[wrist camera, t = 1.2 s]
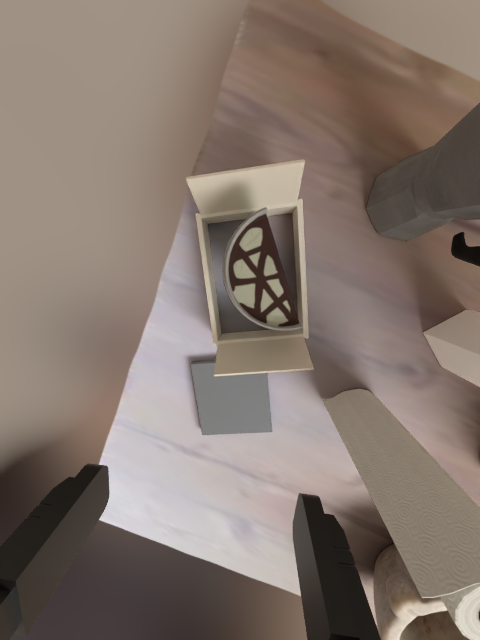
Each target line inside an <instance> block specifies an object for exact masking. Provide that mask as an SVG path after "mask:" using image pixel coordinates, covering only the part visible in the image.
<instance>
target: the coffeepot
mask: <svg viewBox="0 0 480 640" xmlns="http://www.w3.org/2000/svg"><path fill="white" fill-rule="evenodd" d="M366 210H367V213H368V215H369V218H370V221H371V223H372V225H373V226H374V228H375V229H376V231H377V233H378V235H382V236H386V237H389V238H393V239H399V240H403V241H408V240H410V239H413V238H415V237H417V236H419V235H421V234H424V233H426V232H428V231H430V230H433V229H435V228H437V227H439V226H442V225H444V224H446V223H448V222H450V221H452V220H454V219H456V218H458V219H464V220H475V219H480V103H479V104H478V105H477V106H476V107H475V108H474V109H473V110H471V111H470V112H469V113H468V114H467V115H466V116H465V117H464V118H463V119H462V120H461V121H460V122H459V123H458V124H457V125H456V126H455V127H453V128H452V129H451V130H450V131H449V132H448V133H447V134H446V135H445V136H444V137H443V138H442V139H441V140H440V141H439V142H438V143H437V144H435V146H432V147H430V148H428V149H426V150H423V151H421V152H419V153H417V154H414V155H412V156H410V157H408V158H405V159H404V160H402V161H401V162H399V163H398V164H396V165H394V166H393V167H391V168H390V169H388V170H387V171H385V172H384V173H382V174H380V175H379V176H377V177H376V180H375V183H374V186H373V188H372V190H371V193H370V196H369V200H368V204H367V207H366ZM451 252H452V255H453V256H454V257H455V258H458V259H460V260H463V261H466V262H469V263H472V264H475V265H477V266H480V246H476V247H468V246H467V245H466V243H465V239H464V232H461V233H458V234H456V235H455V236H454V237H453V241H452V248H451Z"/></svg>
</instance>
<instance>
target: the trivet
mask: <svg viewBox="0 0 480 640" xmlns="http://www.w3.org/2000/svg"><path fill="white" fill-rule="evenodd" d="M215 363H216V360H209V361H196V362H192V363H191V370H192V376H193V382H194V388H195V394H196V401H197V407H198V413H199V419H200V425H201V431H202V435H215V434H237V433H260V432H272V424H271V413H270V402H269V391H268V379H267V373H257V374H243V375H228V376H214V370H215Z"/></svg>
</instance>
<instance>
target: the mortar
mask: <svg viewBox="0 0 480 640" xmlns="http://www.w3.org/2000/svg"><path fill="white" fill-rule="evenodd" d="M374 604H375V612H376V618H377V624H378V633H379V635H380V638H381V640H470V639H469V638H467V637H465V636H464V635H463V634H462V633H461V631H460V630H459V628H458V627H457V625H456V624H455V622H454V621H453V619H452V617H451V616H450V614H449V612H448V610H447V608H446V607H445V605H444V603H443V601H442V599H441V598H440V596H439V597H435V598H422V597H421V595H420V593H419V591H418V589H417V587H416V585H415V583H414V581H413V579H412V577H411V575H410V573H409V571H408V569H407V567H406V565H405V563H404V561H403V559H402V557H401V555H400V553H399V551H398V549H397V547H396V545H395V544H393V545H391V546H389V547H387V548H386V549H384V550H383V551H382V552H381V553H380V555H379V556H378V558H377V560H376V563H375V569H374Z"/></svg>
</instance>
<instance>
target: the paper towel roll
mask: <svg viewBox="0 0 480 640" xmlns="http://www.w3.org/2000/svg"><path fill="white" fill-rule="evenodd" d="M323 402H324V404H325V406H326V408H327V410H328V412H329V414H330V416H331V418H332V420H333V422H334V424H335V426H336V428H337V430H338V432H339V434H340V436H341V438H342V440H343V442H344V444H345V446H346V448H347V450H348V452H349V454H350V456H351V458H352V460H353V462H354V464H355V466H356V468H357V470H358V472H359V474H360V476H361V478H362V480H363V482H364V484H365V486H366V488H367V490H368V492H369V494H370V496H371V498H372V500H373V502H374V504H375V506H376V508H377V510H378V512H379V514H380V516H381V517H382V519H383V521H384V523H385V525H386V527H387V529H388V531H389V533H390V535H391V537H392V539H393V541H394V543H395V545H396V547H397V549H398V551H399V553H400V555H401V557H402V559H403V561H404V563H405V565H406V567H407V569H408V571H409V573H410V575H411V577H412V579H413V581H414V583H415V585H416V587H417V589H418V591H419V593H420V595H421V597H422V598H435V597H439V596H440V598H441V599H442V601H443V603H444V605H445V607H446V608H447V610H448V612H449V614H450V616H451V617H452V619H453V621H454V622H455V624H456V625H457V627H458V628H459V630H460V631H461V633H462V634H463V635H464V636H465V637H467V638H469V639H470V640H480V507H479V506H478V505H477V504H476V503H475V502H474V501H473V500H472V499H471V498H470V497H469V496H468V495H467V494H466V492H465V491H464V490H463V489H462V488H461V487H460V486H459V485H458V484H457V483H456V482H455V481H454V480H453V479H452V477H451V476H450V475H449V474H448V473H447V472H446V471H445V470H444V469H443V468H442V467H441V466H440V465H439V464H438V462H437V461H436V460H435V459H434V458H433V457H432V456H431V455H430V454H429V453H428V452H427V451H426V450H425V449H424V447H423V446H422V445H421V444H420V443H419V442H418V441H417V440H416V439H415V438H414V437H413V436H412V435H411V434H410V432H409V431H408V430H407V429H406V428H405V427H404V426H403V425H402V424H401V423H400V422H399V421H398V420H397V419H396V417H395V416H394V415H393V414H392V413H391V412H390V411H389V410H388V409H387V408H386V407H385V406H384V405H383V404H382V403H381V401H380V400H379V399H378V398H377V397H376V396H375V395H374V394H372V393H371V392H369V391H368V390H364V389H354V390H348V391H344V392H341V393H339V394H338V395H336V396H335V397H333V398H330V399H327V400H323Z"/></svg>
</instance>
